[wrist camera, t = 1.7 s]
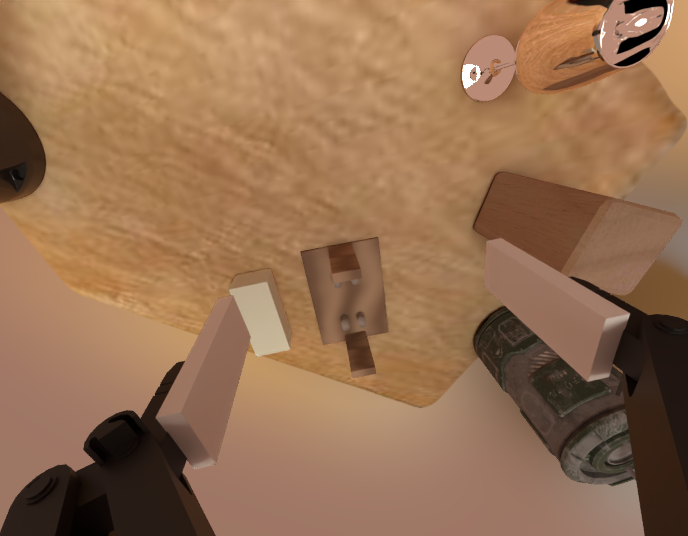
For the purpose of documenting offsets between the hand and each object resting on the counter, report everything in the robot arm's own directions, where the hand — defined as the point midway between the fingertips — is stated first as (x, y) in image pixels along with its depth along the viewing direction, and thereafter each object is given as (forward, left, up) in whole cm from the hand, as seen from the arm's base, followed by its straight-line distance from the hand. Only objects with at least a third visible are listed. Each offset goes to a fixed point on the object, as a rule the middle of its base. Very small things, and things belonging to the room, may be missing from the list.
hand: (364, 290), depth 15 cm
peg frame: (0, -20, -32) cm, 38 cm away
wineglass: (+24, +11, -32) cm, 42 cm away
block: (+29, -9, -32) cm, 44 cm away
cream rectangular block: (-15, -19, -32) cm, 40 cm away
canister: (+32, -37, -32) cm, 59 cm away
